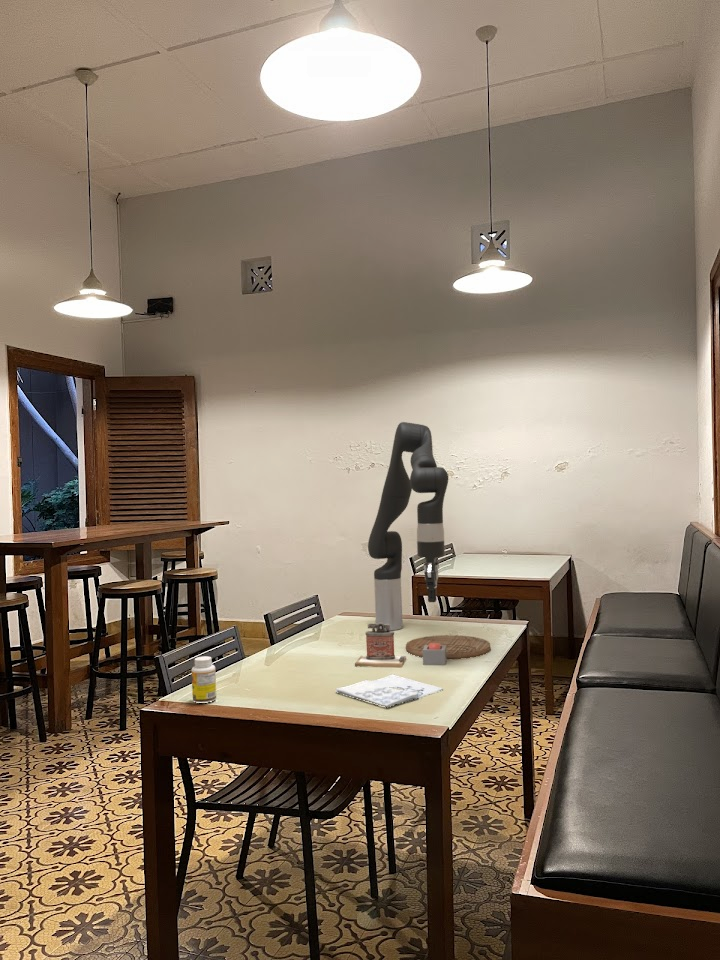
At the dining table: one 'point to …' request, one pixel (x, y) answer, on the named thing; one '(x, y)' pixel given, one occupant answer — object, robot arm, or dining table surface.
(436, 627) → the dining table surface
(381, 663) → the clipboard
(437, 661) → the button box
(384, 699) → the folded patterned cloth
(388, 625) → the lighter
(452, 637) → the trivet
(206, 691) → the supplement bottle
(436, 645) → the button
